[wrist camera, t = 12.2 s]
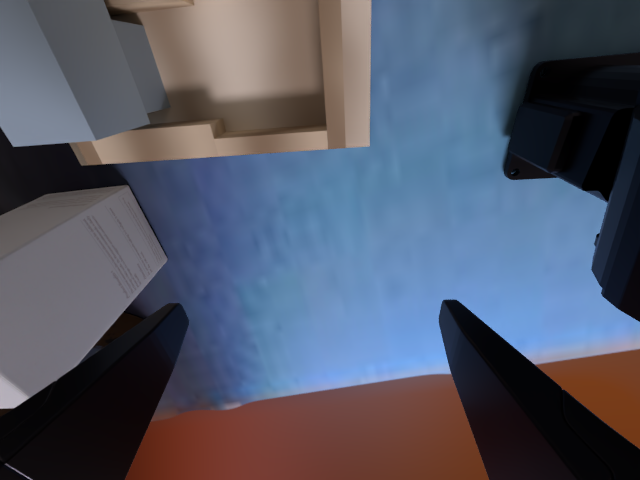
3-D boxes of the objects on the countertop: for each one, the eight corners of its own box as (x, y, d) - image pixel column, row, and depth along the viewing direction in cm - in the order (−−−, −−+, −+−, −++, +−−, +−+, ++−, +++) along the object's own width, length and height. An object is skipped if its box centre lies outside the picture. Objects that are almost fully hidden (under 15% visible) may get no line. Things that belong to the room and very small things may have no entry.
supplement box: (44, 191, 22) (-244, 316, 11) (131, 182, 21) (-92, 309, 10) (96, 266, 26) (-79, 412, 15) (171, 262, 25) (41, 414, 14)
